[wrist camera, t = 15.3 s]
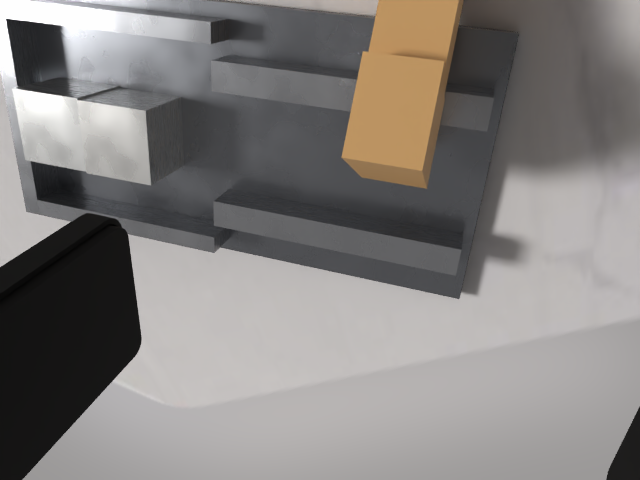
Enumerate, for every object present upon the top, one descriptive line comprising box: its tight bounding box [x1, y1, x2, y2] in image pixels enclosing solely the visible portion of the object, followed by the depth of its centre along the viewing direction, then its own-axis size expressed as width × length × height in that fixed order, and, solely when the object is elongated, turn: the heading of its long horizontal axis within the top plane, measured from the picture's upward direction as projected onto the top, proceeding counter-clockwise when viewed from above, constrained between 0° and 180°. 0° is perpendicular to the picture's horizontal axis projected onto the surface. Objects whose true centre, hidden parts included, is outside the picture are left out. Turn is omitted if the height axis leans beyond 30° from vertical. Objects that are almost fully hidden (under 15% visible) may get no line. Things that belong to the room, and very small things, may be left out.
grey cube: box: [77, 88, 184, 185], centre depth 30 cm, size 4×4×4 cm
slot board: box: [0, 0, 519, 299], centre depth 30 cm, size 14×27×3 cm, turn 86°
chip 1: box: [12, 77, 118, 172], centre depth 31 cm, size 4×4×4 cm
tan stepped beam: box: [341, 0, 464, 189], centre depth 22 cm, size 5×3×12 cm
